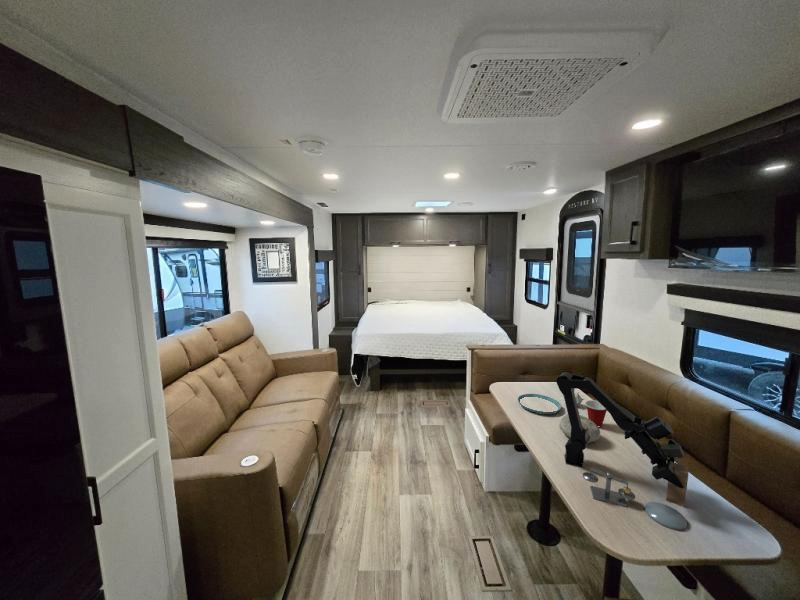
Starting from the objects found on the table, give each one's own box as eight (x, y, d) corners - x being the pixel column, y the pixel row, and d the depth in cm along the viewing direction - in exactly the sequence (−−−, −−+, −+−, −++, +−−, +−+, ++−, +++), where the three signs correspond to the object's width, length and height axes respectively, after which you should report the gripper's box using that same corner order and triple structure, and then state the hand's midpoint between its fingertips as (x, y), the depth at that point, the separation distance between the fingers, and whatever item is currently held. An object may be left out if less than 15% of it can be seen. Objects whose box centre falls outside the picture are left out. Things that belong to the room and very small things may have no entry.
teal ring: (508, 402, 196) (509, 397, 195) (536, 396, 206) (537, 391, 206) (540, 420, 174) (541, 414, 174) (570, 411, 184) (570, 406, 184)
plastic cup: (579, 420, 174) (580, 399, 173) (598, 419, 174) (600, 399, 173) (591, 430, 163) (593, 408, 162) (611, 430, 163) (613, 408, 162)
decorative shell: (599, 434, 159) (601, 416, 158) (599, 452, 145) (600, 431, 143) (560, 424, 169) (562, 407, 168) (556, 439, 154) (557, 420, 153)
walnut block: (666, 500, 115) (669, 467, 114) (666, 492, 119) (670, 461, 117) (684, 507, 112) (688, 473, 110) (684, 499, 116) (688, 466, 114)
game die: (574, 410, 194) (580, 395, 196) (582, 411, 185) (589, 396, 188) (561, 402, 195) (567, 388, 197) (569, 403, 186) (575, 388, 189)
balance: (582, 496, 117) (584, 471, 116) (580, 485, 123) (582, 461, 122) (636, 509, 111) (639, 483, 110) (631, 497, 116) (634, 472, 115)
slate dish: (651, 523, 105) (651, 521, 105) (640, 500, 115) (640, 498, 115) (693, 534, 101) (693, 531, 101) (678, 509, 111) (678, 507, 111)
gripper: (667, 446, 108) (708, 491, 102) (668, 425, 122) (704, 463, 116) (637, 458, 114) (673, 500, 108) (641, 437, 128) (673, 473, 122)
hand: (682, 483), depth 114 cm, fingers closed on walnut block, 5 cm apart
